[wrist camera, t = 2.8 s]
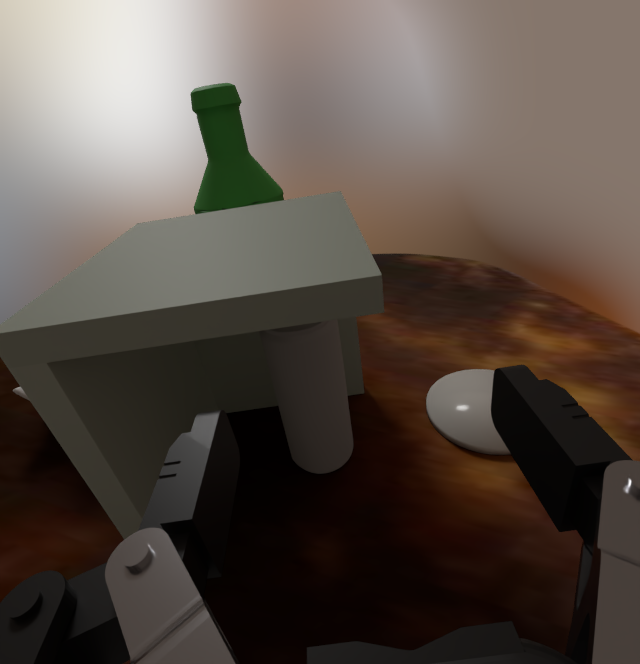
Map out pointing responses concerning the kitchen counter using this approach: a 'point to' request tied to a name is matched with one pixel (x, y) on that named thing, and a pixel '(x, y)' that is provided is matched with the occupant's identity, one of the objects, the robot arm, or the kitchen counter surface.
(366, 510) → the kitchen counter surface
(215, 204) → the bottle
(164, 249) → the shelf housing
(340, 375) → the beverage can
